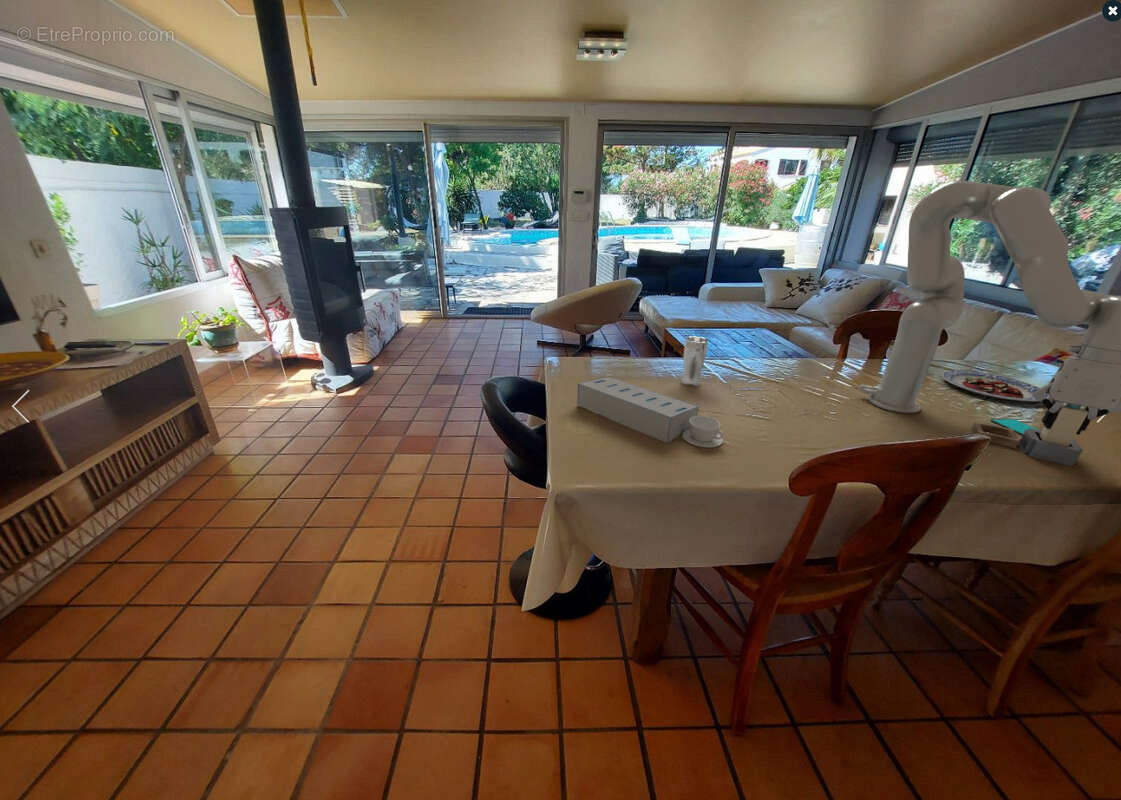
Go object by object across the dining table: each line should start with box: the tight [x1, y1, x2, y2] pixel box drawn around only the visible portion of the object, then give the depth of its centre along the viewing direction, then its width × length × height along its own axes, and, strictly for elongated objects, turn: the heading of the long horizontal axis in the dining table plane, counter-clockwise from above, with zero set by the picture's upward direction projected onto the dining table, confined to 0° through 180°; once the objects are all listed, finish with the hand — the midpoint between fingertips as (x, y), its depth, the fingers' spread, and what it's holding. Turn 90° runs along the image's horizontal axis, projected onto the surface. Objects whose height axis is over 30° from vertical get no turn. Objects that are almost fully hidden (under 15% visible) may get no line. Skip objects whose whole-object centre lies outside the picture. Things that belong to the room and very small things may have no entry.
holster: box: [971, 420, 1020, 449], centre depth 108 cm, size 8×8×2 cm
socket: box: [1018, 428, 1084, 467], centre depth 101 cm, size 8×8×4 cm
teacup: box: [681, 415, 725, 448], centre depth 106 cm, size 10×10×5 cm
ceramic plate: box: [941, 369, 1051, 402], centre depth 138 cm, size 26×26×3 cm
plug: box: [1040, 403, 1089, 447], centre depth 98 cm, size 4×4×11 cm
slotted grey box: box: [576, 376, 699, 444], centre depth 117 cm, size 30×14×8 cm, turn 46°
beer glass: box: [680, 336, 709, 387], centre depth 137 cm, size 7×7×15 cm
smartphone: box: [990, 418, 1042, 437], centre depth 111 cm, size 7×1×15 cm
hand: (1060, 428), depth 99 cm, fingers closed on plug, 4 cm apart
